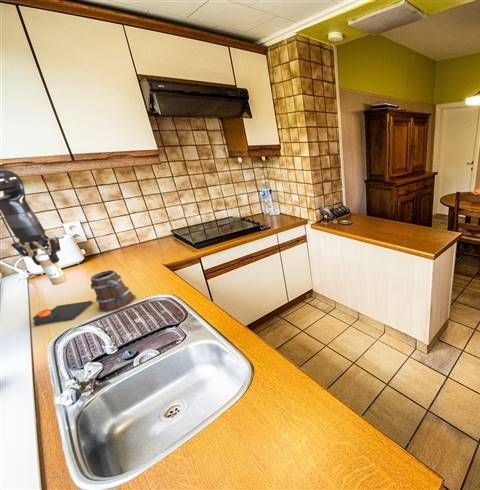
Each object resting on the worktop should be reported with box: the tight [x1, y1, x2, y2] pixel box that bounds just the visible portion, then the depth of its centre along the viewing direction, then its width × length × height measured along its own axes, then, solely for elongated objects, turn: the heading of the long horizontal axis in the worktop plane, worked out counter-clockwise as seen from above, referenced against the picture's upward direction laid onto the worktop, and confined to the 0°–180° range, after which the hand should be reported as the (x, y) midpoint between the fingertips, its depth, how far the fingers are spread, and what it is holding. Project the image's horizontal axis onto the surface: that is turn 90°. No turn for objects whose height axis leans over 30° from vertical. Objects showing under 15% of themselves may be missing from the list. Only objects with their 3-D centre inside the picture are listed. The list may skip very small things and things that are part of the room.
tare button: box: [36, 308, 52, 318], centre depth 109 cm, size 4×4×2 cm
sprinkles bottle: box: [35, 252, 68, 286], centre depth 109 cm, size 5×5×14 cm
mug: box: [90, 270, 135, 312], centre depth 116 cm, size 16×12×15 cm
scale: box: [32, 300, 93, 326], centre depth 114 cm, size 14×12×3 cm
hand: (48, 263), depth 108 cm, fingers closed on sprinkles bottle, 4 cm apart
